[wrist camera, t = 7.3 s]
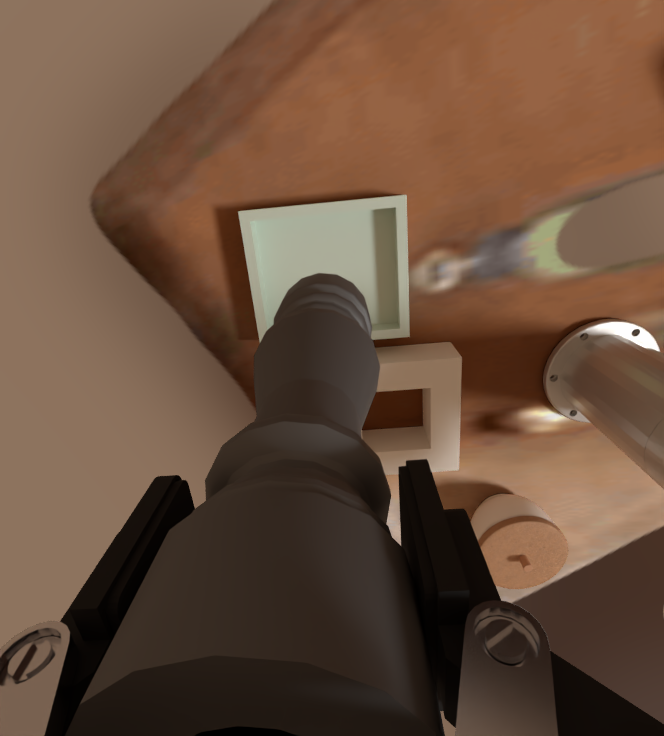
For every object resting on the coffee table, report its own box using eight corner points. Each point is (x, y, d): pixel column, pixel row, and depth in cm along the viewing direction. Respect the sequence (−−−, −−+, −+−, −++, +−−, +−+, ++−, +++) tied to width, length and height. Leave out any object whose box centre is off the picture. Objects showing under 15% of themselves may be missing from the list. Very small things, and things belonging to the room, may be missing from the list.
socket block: (450, 341, 48) (461, 357, 44) (448, 446, 54) (458, 470, 49) (327, 351, 49) (326, 368, 44) (338, 453, 54) (338, 478, 50)
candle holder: (316, 253, 28) (184, 559, 5) (387, 311, 29) (564, 773, 6) (262, 324, 30) (-26, 793, 6) (331, 375, 31) (298, 914, 8)
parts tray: (402, 194, 42) (406, 194, 40) (405, 328, 48) (409, 336, 45) (244, 210, 43) (238, 211, 40) (265, 340, 49) (260, 349, 46)
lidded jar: (550, 525, 58) (587, 583, 50) (476, 552, 60) (499, 612, 52) (525, 467, 55) (560, 519, 46) (447, 497, 57) (467, 553, 48)
